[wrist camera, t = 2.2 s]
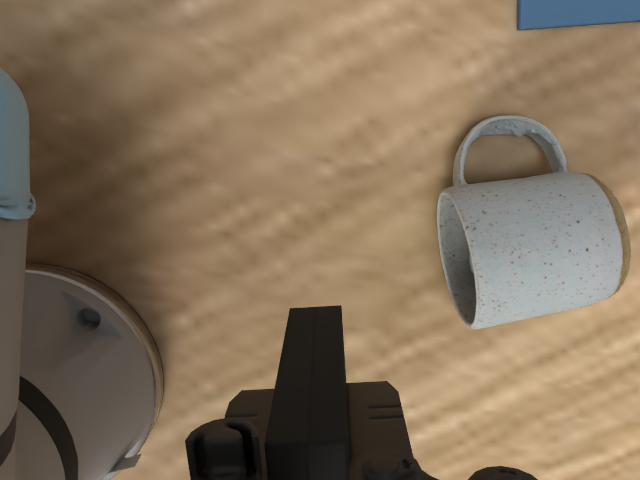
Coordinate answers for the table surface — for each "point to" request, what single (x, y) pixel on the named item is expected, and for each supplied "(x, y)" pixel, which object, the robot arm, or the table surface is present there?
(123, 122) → the table surface
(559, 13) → the blue flat rectangular panel
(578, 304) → the ceramic mug
